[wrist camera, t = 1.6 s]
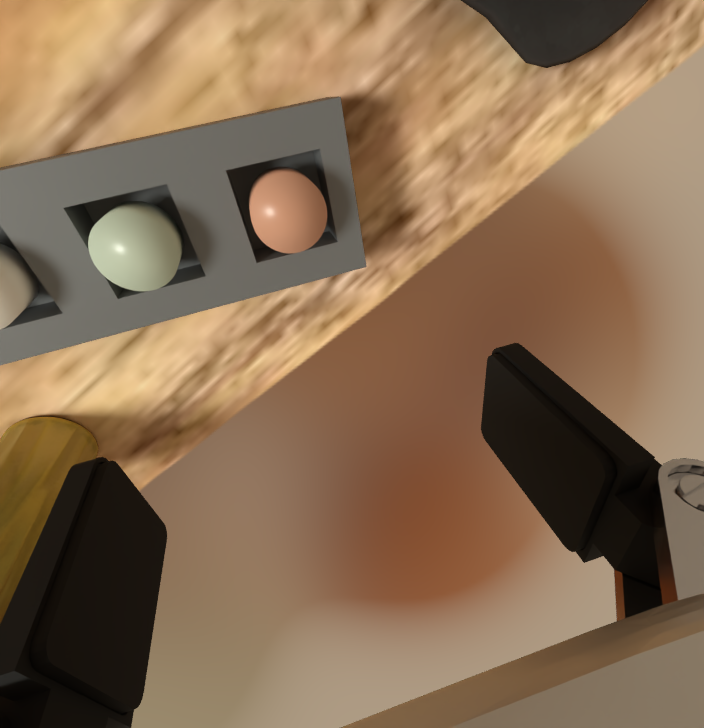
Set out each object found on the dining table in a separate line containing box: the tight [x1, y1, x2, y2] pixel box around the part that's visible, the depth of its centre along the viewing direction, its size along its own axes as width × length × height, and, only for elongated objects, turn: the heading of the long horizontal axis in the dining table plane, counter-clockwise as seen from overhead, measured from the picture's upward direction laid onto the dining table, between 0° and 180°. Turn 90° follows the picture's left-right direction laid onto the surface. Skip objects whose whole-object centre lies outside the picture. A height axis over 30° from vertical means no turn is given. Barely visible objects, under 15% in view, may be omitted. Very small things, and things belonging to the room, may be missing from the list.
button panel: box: [0, 97, 366, 365], centre depth 22 cm, size 9×24×4 cm, turn 100°
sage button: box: [88, 201, 184, 291], centre depth 20 cm, size 4×4×3 cm
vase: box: [0, 417, 98, 623], centre depth 24 cm, size 6×6×14 cm
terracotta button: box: [249, 166, 327, 253], centre depth 21 cm, size 4×4×3 cm
